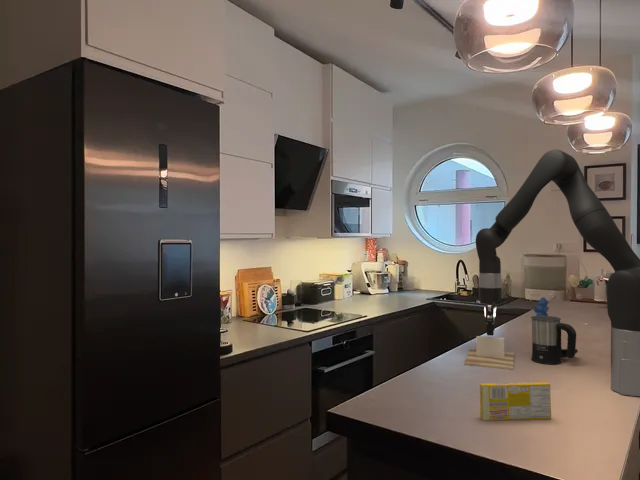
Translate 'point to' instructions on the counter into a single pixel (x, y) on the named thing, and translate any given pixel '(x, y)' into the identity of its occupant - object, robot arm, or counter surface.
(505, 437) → the counter surface
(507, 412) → the candy box
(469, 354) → the mat
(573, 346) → the milk frother
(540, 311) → the grapes
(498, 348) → the card box
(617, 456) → the counter surface
